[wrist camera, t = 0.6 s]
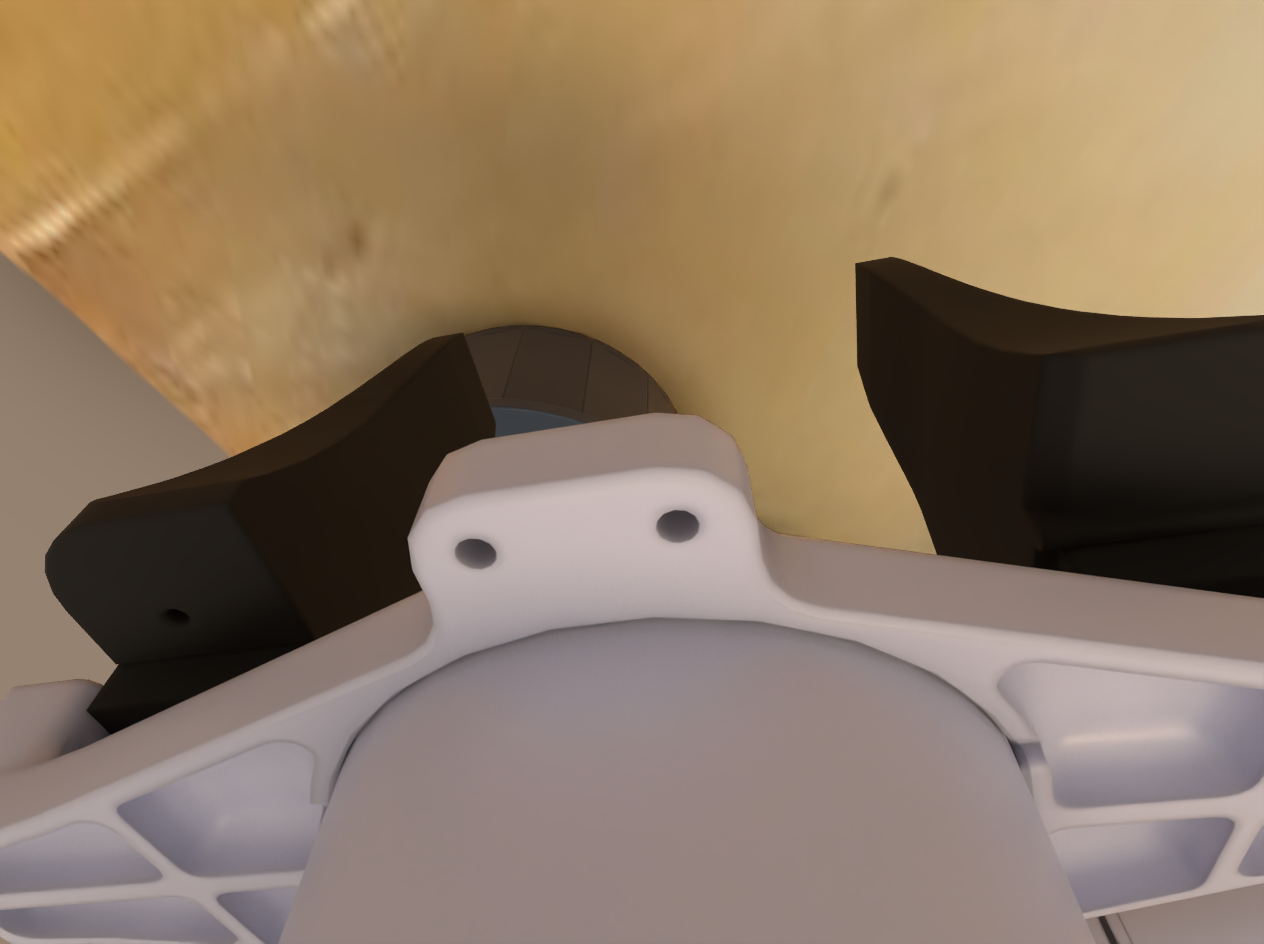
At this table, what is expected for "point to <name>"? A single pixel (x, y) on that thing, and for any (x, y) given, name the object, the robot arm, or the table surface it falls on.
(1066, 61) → the table surface
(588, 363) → the pot
